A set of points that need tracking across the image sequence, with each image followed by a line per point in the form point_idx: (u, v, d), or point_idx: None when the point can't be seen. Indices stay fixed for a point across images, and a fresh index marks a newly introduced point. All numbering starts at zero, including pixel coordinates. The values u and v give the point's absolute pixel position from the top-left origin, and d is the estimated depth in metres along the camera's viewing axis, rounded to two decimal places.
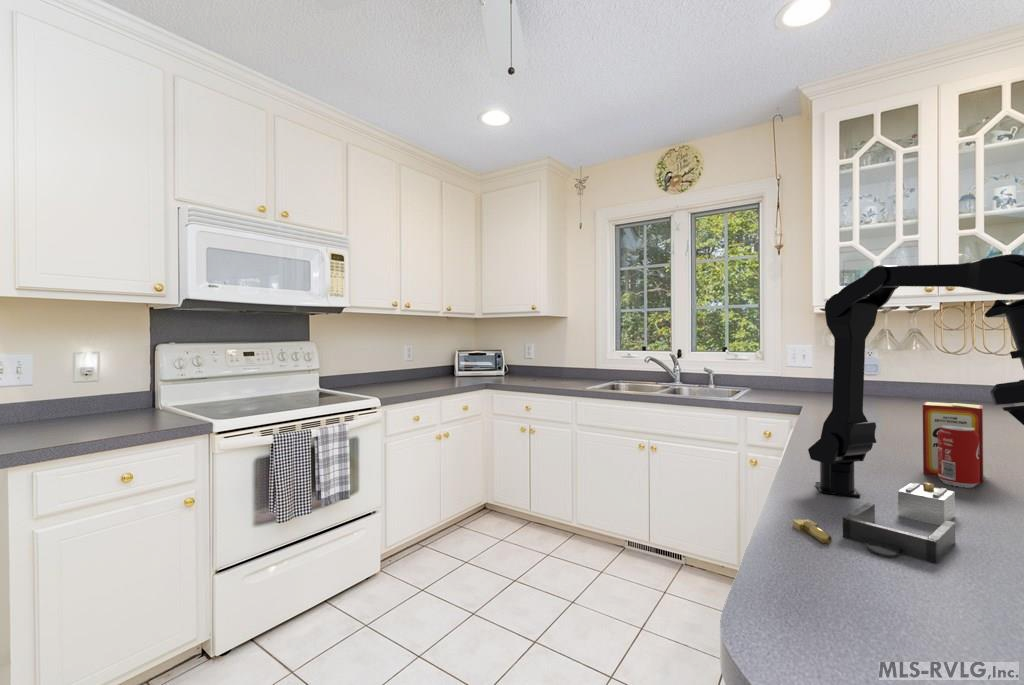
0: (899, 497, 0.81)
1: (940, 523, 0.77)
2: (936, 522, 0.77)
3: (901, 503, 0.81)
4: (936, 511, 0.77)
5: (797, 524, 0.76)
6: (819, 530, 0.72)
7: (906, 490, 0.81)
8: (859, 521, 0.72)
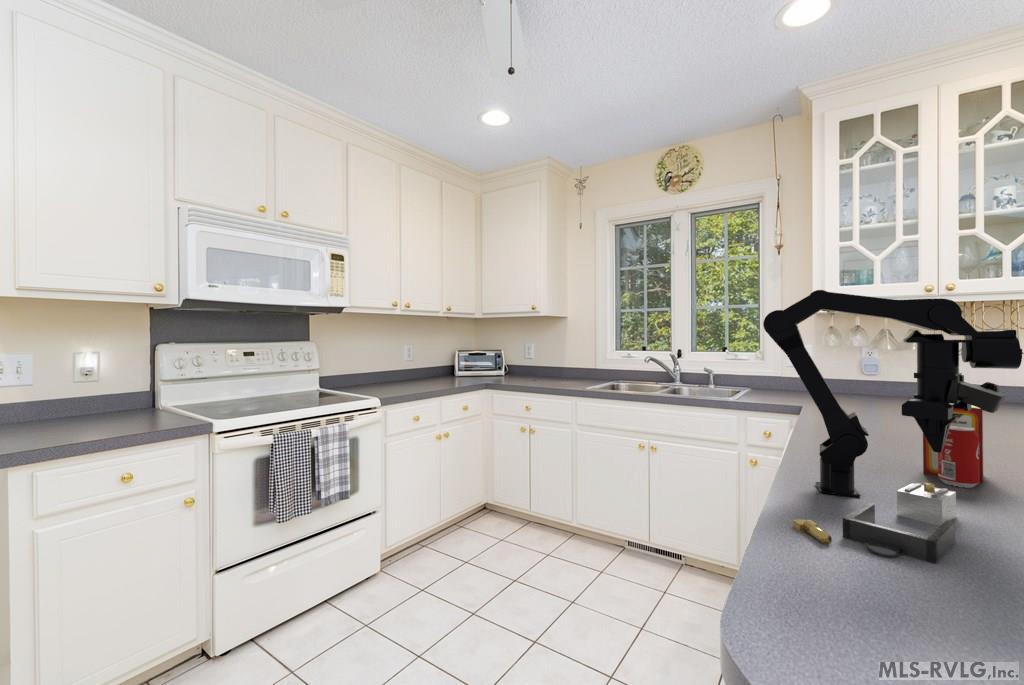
0: (898, 497, 0.81)
1: (938, 523, 0.77)
2: (934, 522, 0.77)
3: (900, 503, 0.81)
4: (934, 511, 0.77)
5: (797, 524, 0.76)
6: (819, 530, 0.72)
7: (905, 490, 0.81)
8: (859, 521, 0.72)
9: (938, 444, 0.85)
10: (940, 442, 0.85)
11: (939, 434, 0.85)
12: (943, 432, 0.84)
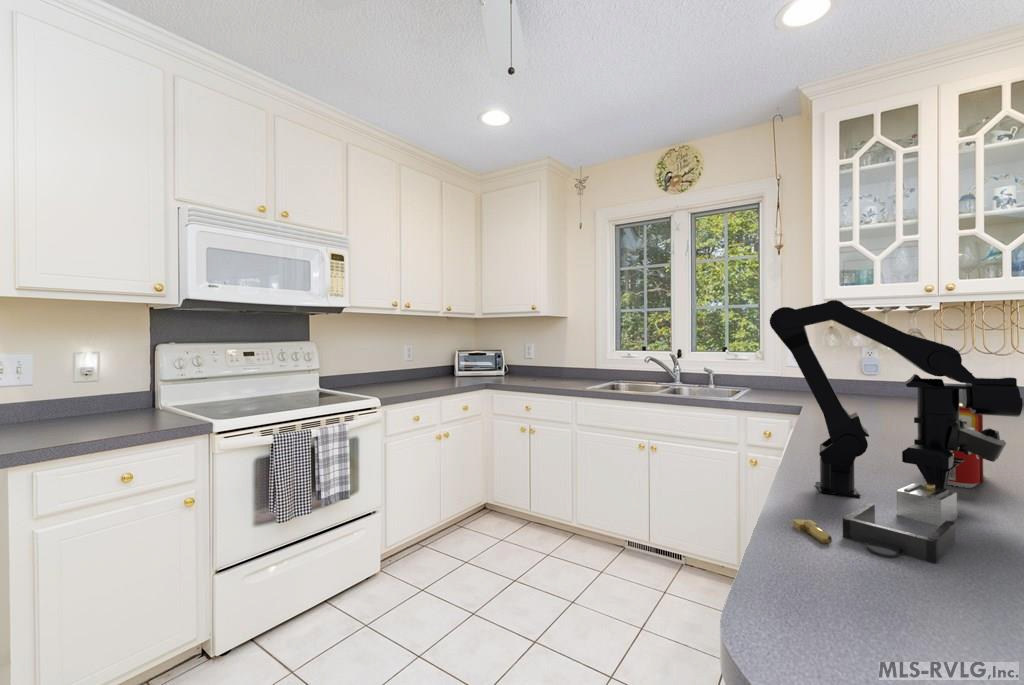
0: (897, 496, 0.82)
1: (937, 523, 0.77)
2: (933, 522, 0.77)
3: (899, 502, 0.81)
4: (933, 511, 0.77)
5: (797, 524, 0.76)
6: (819, 530, 0.72)
7: (905, 490, 0.81)
8: (859, 521, 0.72)
9: None
10: (941, 487, 0.85)
11: (940, 480, 0.85)
12: (944, 478, 0.84)
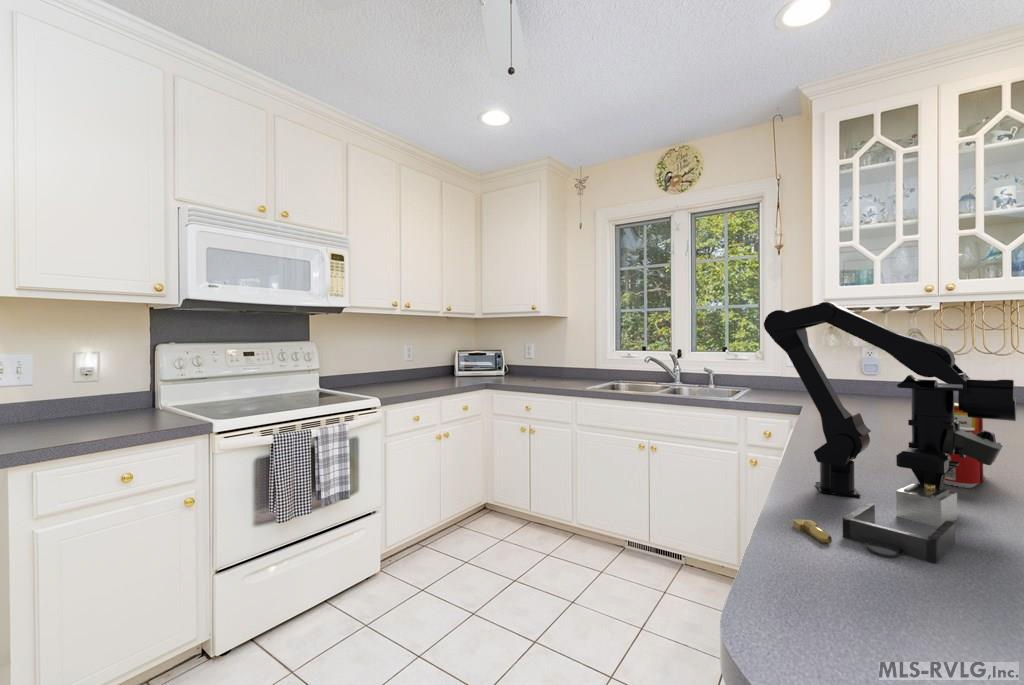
0: (897, 497, 0.81)
1: (937, 523, 0.76)
2: (933, 522, 0.77)
3: (899, 503, 0.81)
4: (933, 512, 0.77)
5: (797, 524, 0.76)
6: (819, 530, 0.72)
7: (904, 490, 0.81)
8: (859, 521, 0.72)
9: None
10: None
11: (935, 484, 0.82)
12: (939, 482, 0.82)
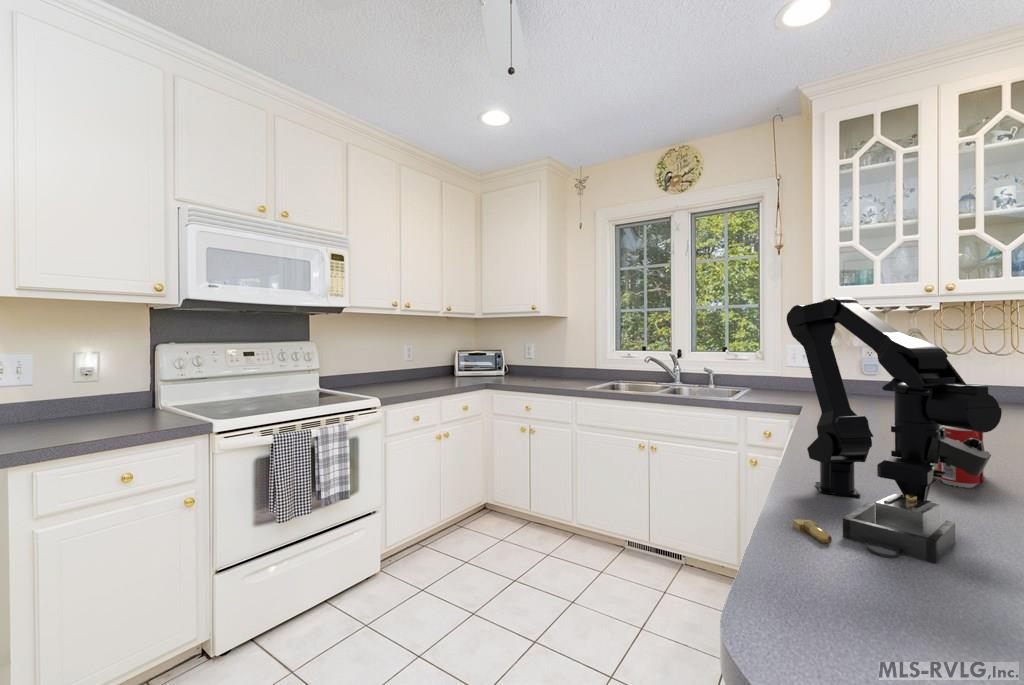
0: (877, 509, 0.75)
1: None
2: None
3: (879, 515, 0.75)
4: (914, 525, 0.71)
5: (797, 524, 0.76)
6: (819, 530, 0.72)
7: (884, 501, 0.75)
8: (859, 521, 0.72)
9: None
10: None
11: (919, 495, 0.77)
12: (923, 493, 0.76)
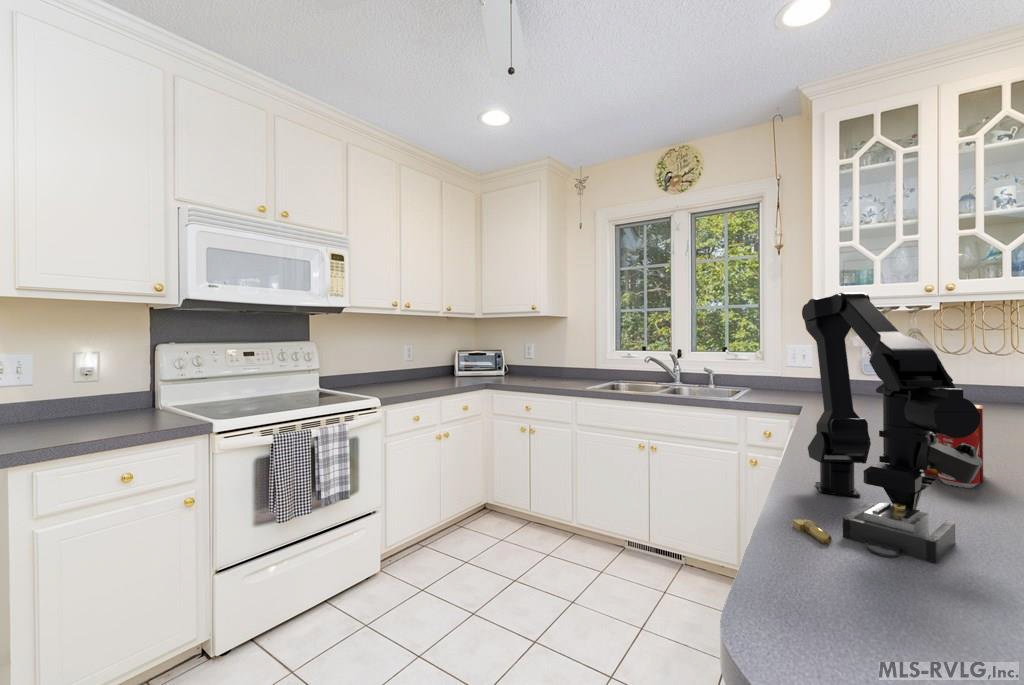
0: (865, 519, 0.72)
1: None
2: None
3: None
4: None
5: (797, 524, 0.76)
6: (819, 530, 0.72)
7: (873, 511, 0.71)
8: (859, 521, 0.72)
9: None
10: None
11: (908, 503, 0.73)
12: (912, 501, 0.73)
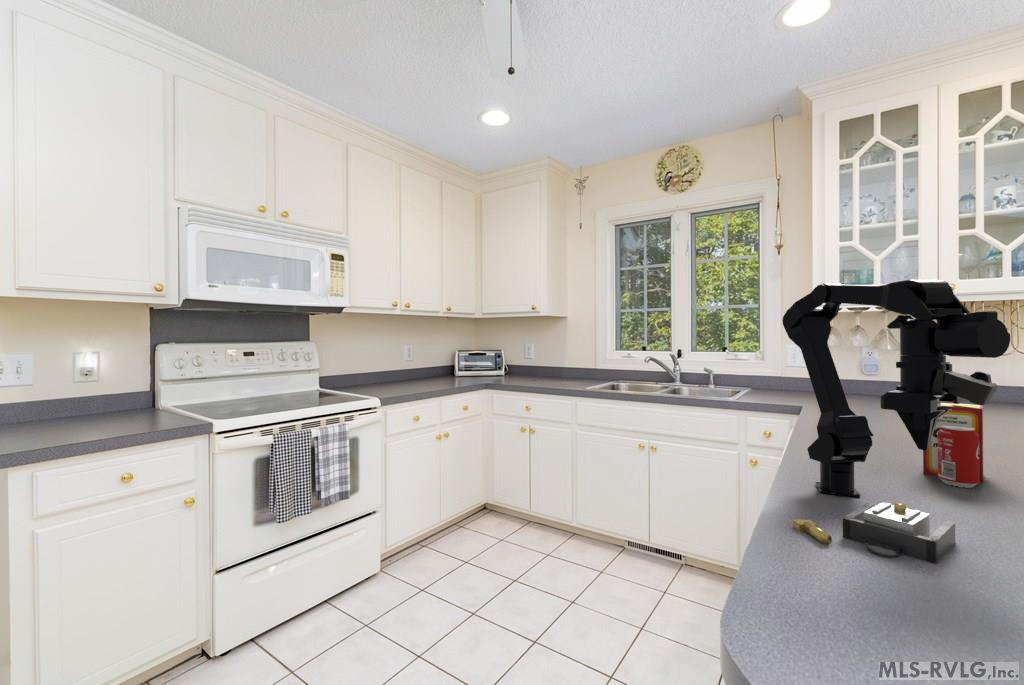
0: (865, 519, 0.72)
1: None
2: None
3: None
4: None
5: (797, 524, 0.76)
6: (819, 530, 0.72)
7: (873, 511, 0.71)
8: (859, 521, 0.72)
9: (923, 441, 0.77)
10: (925, 438, 0.76)
11: (924, 430, 0.76)
12: (928, 427, 0.76)
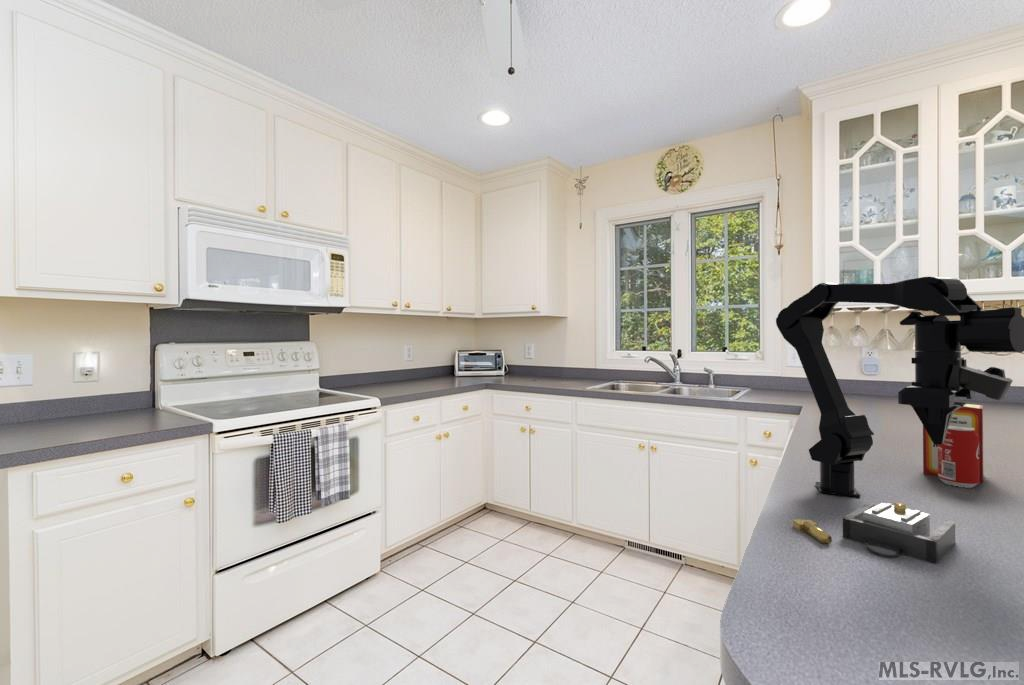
0: (864, 519, 0.72)
1: None
2: None
3: None
4: None
5: (797, 524, 0.76)
6: (819, 530, 0.72)
7: (872, 511, 0.71)
8: (859, 521, 0.72)
9: (939, 435, 0.78)
10: (941, 433, 0.78)
11: (940, 424, 0.77)
12: (944, 422, 0.77)
